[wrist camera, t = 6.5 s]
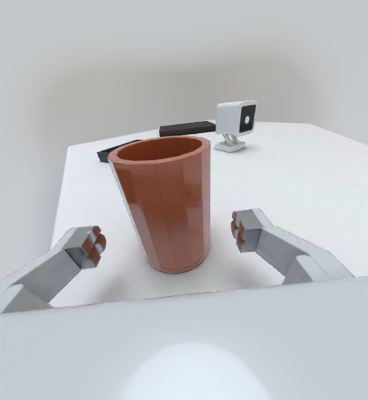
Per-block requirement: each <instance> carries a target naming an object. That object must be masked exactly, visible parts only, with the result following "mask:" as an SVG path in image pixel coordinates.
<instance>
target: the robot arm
mask: <svg viewBox="0 0 368 400" xmlns="http://www.w3.org/2000/svg"><path fill="white" fill-rule="evenodd" d="M232 218H233V221H232V222H231V231H232V234H233V237H234V238H235V239H237V242H236V244H237V246H238V248H239V250H240V253H242V252H255V251H256V253H257V254H258V255H259V256H261V257H262V258H263V259H264V260H266V261H267V262H268V263H269V264H270V265H272V266H273V267H274V268H275V269H277V270H278V271H279V272H280V273H281V274H283V275H284V276H285V279H284V281H283V283H282V285H275V286H265V287H256V288H246V289H236V290H226V291H216V292H207V293H197V294H187V295H177V296H167V297H158V298H148V299H138V300H129V301H119V302H109V303H99V304H90V305H80V306H70V307H60V308H54V307H52V306H51V305H50V304H48V303H49V302H50V301H51V300H52V299H53V298H54V297H55V296H56V295H57V294H58V293H59V292H60V291H61V290H62V289H63V288H64V287H65V286H66V285H67V284H68V283H69V282H70V281H71V280H72V279H73V278H74V277H75V276H76V275H77V274H78V273H79V272H80V271H81V269H88V268H96V267H97V264H98V262H99V260H100V258H101V256H100V254H101V253H102V252H103V251H104V250H105V247H106V238H105V236H104V235H102V234H101V233H100V232H101V229H100V228H99V226H87V227H76V228H71V229H69V230H68V231H67V232H66V233H65V235H64V236H63V237H62V238H61V239H60V240H59V242H58V243H57V244H56V245H55V246H54V248H53V249H52V250H48V251H47V252H46V253H44V254H42V255H41V256H39V257H37V258H36V259H34V260H32V261H31V262H29V263H28V264H26V265H24V266H23V267H21V268H20V269H18V270H16V271H15V272H13V273H12V274H10V275H8V276H7V277H6V278H4V279H2V280H1V281H0V400H368V276H363V277H355V276H354V275H353V274H352V273H351V272H350V271H348V270H347V269H346V268H345V267H344V266H343V265H342V264H341V263H340V262H339V261H338V260H337V259H336V258H335V257H334V256H333V255H332V254H331V253H330V252H328V251H326V250H324V249H322V248H320V247H318V246H316V245H314V244H312V243H310V242H308V241H306V240H304V239H302V238H300V237H298V236H296V235H294V234H292V233H289V232H287V231H285V230H283V229H281V228H279V227H274V225H273V224H272V223H271V222H270V221H269V219H268V218H267V217H266V216H265V214H264V213H263V212H262V211H261V210H260V209H259V208H257V209H250V210H242V211H233V213H232Z"/></svg>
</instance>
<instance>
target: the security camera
mask: <svg viewBox="0 0 368 400" xmlns="http://www.w3.org/2000/svg"><path fill="white" fill-rule="evenodd" d="M257 105H258V102H257V101H256V100H253V101H241V102H230V103H223V104H218V105H217V108H216V134H223V136H224V138H225V139H226V141H223V142H220V143H216V144H215V149H217V150H221V151H226V152H234V151H236V150H239V149H242V148H244V147H245V142H240V141H238V139H237V137H239V136H242V135H245V134H249V133H252V132H253V130H254V125H255V119H256V112H257ZM228 135H230V136H231V137H232V139H233V140H234V141H233V140H231V139H230V138H229V136H228ZM236 136H237V137H236Z"/></svg>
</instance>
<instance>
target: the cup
mask: <svg viewBox="0 0 368 400" xmlns="http://www.w3.org/2000/svg"><path fill="white" fill-rule="evenodd" d="M107 159H108V161H109V164H110V167H111V169H112V172H113V174H114V177H115V180H116V182H117V185H118V188H119V190H120V193H121V195H122V198H123V201H124V203H125V206H126V209H127V211H128V214H129V216H130V219H131V222H132V224H133V227H134V230H135V232H136V235H137V237H138V240H139V243H140V245H141V248H142V251H143V253H144V255H145V257H146V259H147V261H148V262H149V264H150V265H151V266H152V267H154V268H155V269H157V270H159V271H161V272H165V273H174V274H175V273H182V272H186V271H189V270H191V269H193V268H195V267H196V266H198V265H199V264H200V263H201V262H202V261H203V260H204V259H205V257H206V256H207V254H208V252H209V248H210V141H209V140H207V139H205V138H202V137H196V136H167V137H158V138H151V139H146V140H141V141H137V142H133V143H130V144H127V145H124V146H121V147H119V148H117V149H115V150H113V151H111V152H110V154H109V155H108V157H107Z"/></svg>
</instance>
